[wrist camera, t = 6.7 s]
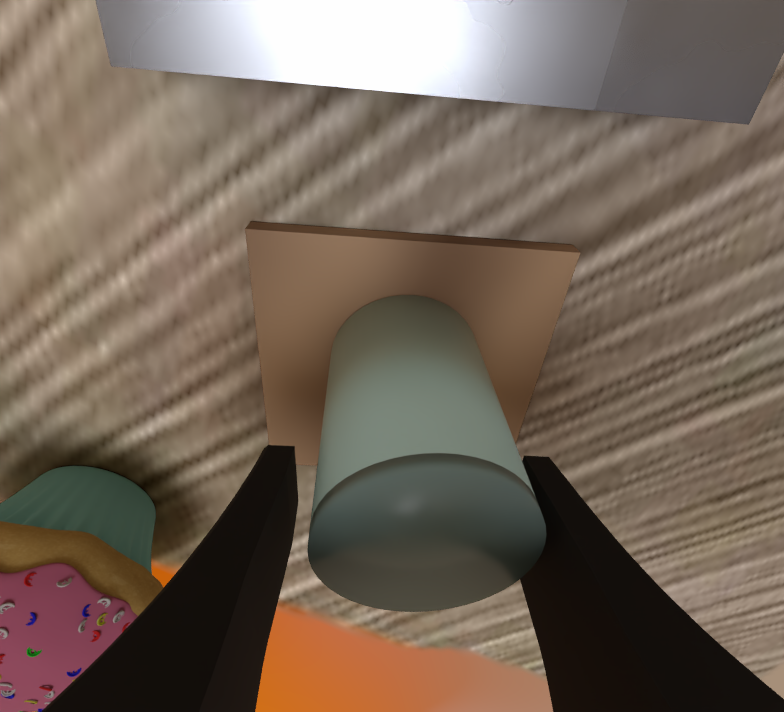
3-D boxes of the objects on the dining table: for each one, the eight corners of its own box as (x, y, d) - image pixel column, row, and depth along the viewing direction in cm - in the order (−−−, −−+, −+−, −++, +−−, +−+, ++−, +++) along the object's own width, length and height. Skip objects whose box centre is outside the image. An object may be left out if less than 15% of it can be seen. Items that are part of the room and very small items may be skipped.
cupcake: (-39, 509, 19) (-497, 1012, 9) (21, 391, 15) (-631, 1013, 5) (155, 576, 22) (-27, 999, 12) (242, 492, 19) (84, 994, 9)
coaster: (572, 244, 13) (580, 252, 12) (502, 461, 18) (505, 473, 17) (250, 221, 12) (244, 228, 12) (274, 451, 17) (271, 463, 17)
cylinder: (490, 299, 13) (578, 473, 8) (463, 417, 15) (514, 610, 10) (331, 290, 12) (304, 467, 7) (330, 413, 15) (309, 612, 10)
